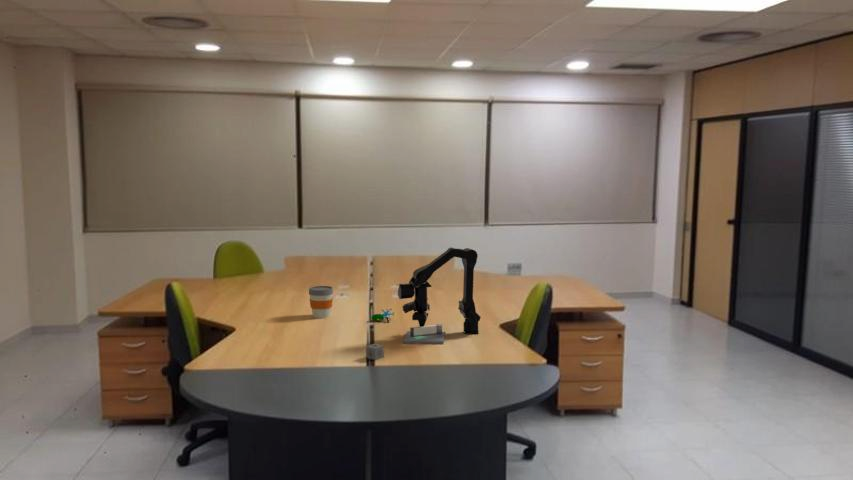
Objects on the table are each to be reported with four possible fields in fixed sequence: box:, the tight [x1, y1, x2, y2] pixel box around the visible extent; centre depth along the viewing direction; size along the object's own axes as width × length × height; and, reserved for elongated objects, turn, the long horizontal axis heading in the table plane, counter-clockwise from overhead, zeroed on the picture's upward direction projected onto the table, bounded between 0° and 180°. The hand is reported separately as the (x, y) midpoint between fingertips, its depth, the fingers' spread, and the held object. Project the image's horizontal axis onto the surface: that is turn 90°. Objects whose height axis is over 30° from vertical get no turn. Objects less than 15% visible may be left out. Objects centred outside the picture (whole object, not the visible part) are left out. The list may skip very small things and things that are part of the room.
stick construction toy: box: [370, 308, 395, 324], centre depth 320 cm, size 12×7×8 cm
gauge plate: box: [402, 330, 447, 345], centre depth 289 cm, size 18×16×1 cm
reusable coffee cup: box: [308, 285, 334, 319], centre depth 332 cm, size 13×13×15 cm
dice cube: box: [365, 343, 385, 361], centre depth 261 cm, size 5×5×5 cm
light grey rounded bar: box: [409, 323, 443, 336], centre depth 291 cm, size 16×3×4 cm, turn 111°
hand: (421, 329), depth 292 cm, fingers closed
